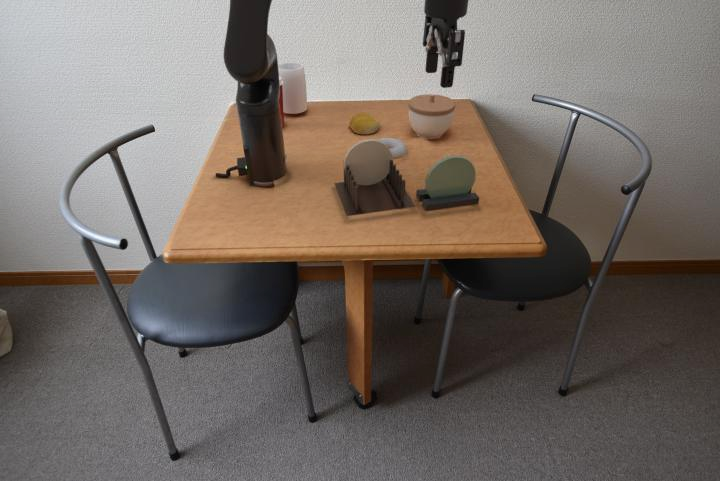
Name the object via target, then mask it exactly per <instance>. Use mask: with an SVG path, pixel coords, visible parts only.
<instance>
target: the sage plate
mask: <svg viewBox="0 0 720 481" xmlns="http://www.w3.org/2000/svg"><path fill="white" fill-rule="evenodd" d="M476 177H477V172H476V168H475V166H474V164H473V163H472V162H471V160H469V159H468V158H467V157H465V156H462V155H457V154H456V155H448V156H445V157H443V158H440V159H439V160H438V161H436V162H435V163H434V164H433V165H432V166H431V167H430V168H429V170H428V172H427V173H426V177H425V180H424V189H426V191H427V193H428V195H429V196H430V197H431V198H439V197H446V196H453V195H461V194H467V193H468V192H469V191H470V190H471V188H472V189H473V186H474V184H475V182H476ZM471 191H472V190H471Z"/></svg>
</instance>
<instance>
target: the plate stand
mask: <svg viewBox="0 0 720 481" xmlns="http://www.w3.org/2000/svg"><path fill="white" fill-rule="evenodd" d="M472 190H473V187H472V188H471V190H470V191H469V192H468V193H467V194H461V195H453V196H446V197H439V198H431V197H430V196H429V195H428V193H427V191H426V188H422V189H416V192H415V193H416V194H415V197H416V198H417V200H418V201H419V202H422V205H421V207H422V208H423V210H424V211H425V212H429V211H436V210H443V209H451V208H458V207H464V206H465V207H466V206H473V205H478V204H479V203H480V196H479V195H478V194H477V192H472Z"/></svg>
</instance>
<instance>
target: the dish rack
mask: <svg viewBox="0 0 720 481" xmlns="http://www.w3.org/2000/svg"><path fill="white" fill-rule="evenodd" d="M342 162H343V164H342V165H343V166H342V167H344V160H343V161H342ZM406 182H407V181H406V179H403V174H402V173H400V169H398V168H397V164H395V163H394V159H393V160H390V170H389V173H388V175H387V176H386V177H385V178H384V179H383V180H381V181H380V182H378V183H376V184H373V185H366V186H365V185H359V184H356V180H354V176H353V175H351V170H349V165H346V172H345V170H344V169H343V181H341V182H340V181H339V182H334V186H335V189H336V192H337V194H338V197H339V200H340V202H341V205H342V208H343V211H344V213H345V216H346V217H351V216H352V217H353V216H359V215H365V214H366V215H367V214H372V213H373V214H374V213H380V212H388V211H394V210H403V209H409V208H415V207H416V205H415V203H414V202H413V200H412V199H411V197H410V195H409V193H408V192H407V190H406Z"/></svg>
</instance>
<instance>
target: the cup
mask: <svg viewBox="0 0 720 481" xmlns="http://www.w3.org/2000/svg"><path fill="white" fill-rule="evenodd" d="M278 71H279V76H280V77H281V79H282V81H283V84H282V90H283V110H284V114H289V115H290V114H292V115H294V114H301V113H304V112H306V111H307V110H308V95H307V94H308V93H307V80H306V73H305V66H304V64H303V63H301V62H296V61H287V62H286V61H285V62H282V63H278Z"/></svg>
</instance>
